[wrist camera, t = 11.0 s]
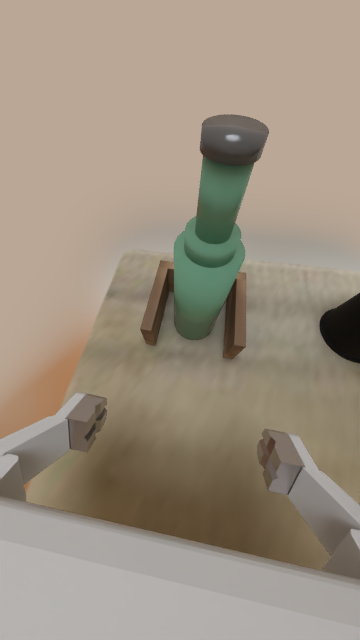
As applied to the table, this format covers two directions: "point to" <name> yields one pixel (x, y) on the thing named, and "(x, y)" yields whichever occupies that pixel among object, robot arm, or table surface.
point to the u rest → (234, 310)
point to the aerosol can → (343, 329)
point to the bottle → (215, 223)
